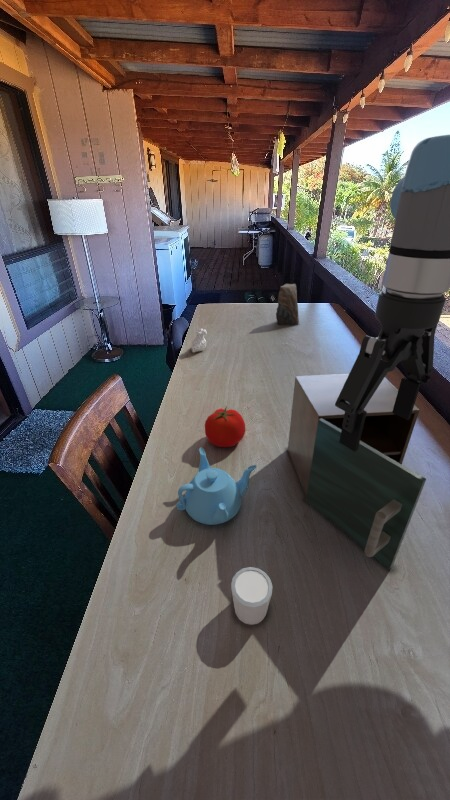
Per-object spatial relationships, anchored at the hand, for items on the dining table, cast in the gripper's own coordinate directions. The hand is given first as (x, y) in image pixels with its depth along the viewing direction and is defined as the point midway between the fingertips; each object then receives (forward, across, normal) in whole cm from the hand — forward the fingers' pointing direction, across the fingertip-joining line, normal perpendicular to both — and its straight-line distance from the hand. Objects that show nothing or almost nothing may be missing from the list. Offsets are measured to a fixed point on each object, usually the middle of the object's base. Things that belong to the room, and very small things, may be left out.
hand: (376, 430), depth 54 cm
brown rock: (+31, -93, -111) cm, 148 cm away
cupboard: (+31, -19, -17) cm, 40 cm away
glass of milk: (+31, +22, -3) cm, 38 cm away
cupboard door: (+31, -2, -3) cm, 31 cm away
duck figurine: (+23, -34, -106) cm, 114 cm away
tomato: (+31, -2, -44) cm, 54 cm away
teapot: (+31, +13, -26) cm, 42 cm away
